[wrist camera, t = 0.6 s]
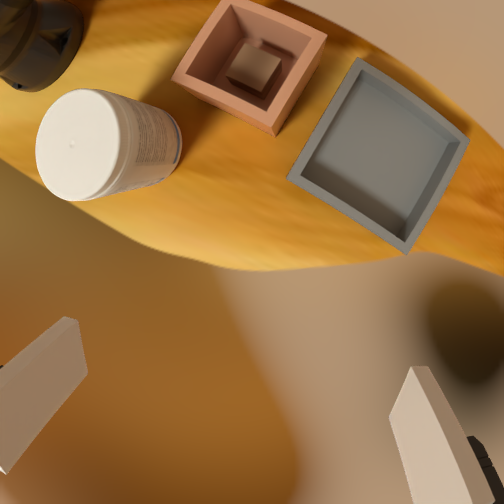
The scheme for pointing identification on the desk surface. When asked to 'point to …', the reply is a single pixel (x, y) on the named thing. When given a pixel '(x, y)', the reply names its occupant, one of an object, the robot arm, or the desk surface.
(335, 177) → the gray tray
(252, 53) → the walnut block
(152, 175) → the supplement tub
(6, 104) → the desk surface
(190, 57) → the terracotta bin
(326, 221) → the desk surface
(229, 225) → the desk surface
